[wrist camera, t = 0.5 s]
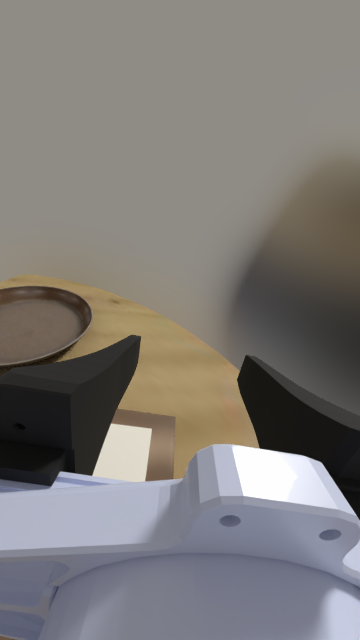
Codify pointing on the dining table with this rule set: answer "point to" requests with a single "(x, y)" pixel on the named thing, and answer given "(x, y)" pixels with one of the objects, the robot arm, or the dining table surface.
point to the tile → (124, 454)
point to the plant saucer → (39, 323)
